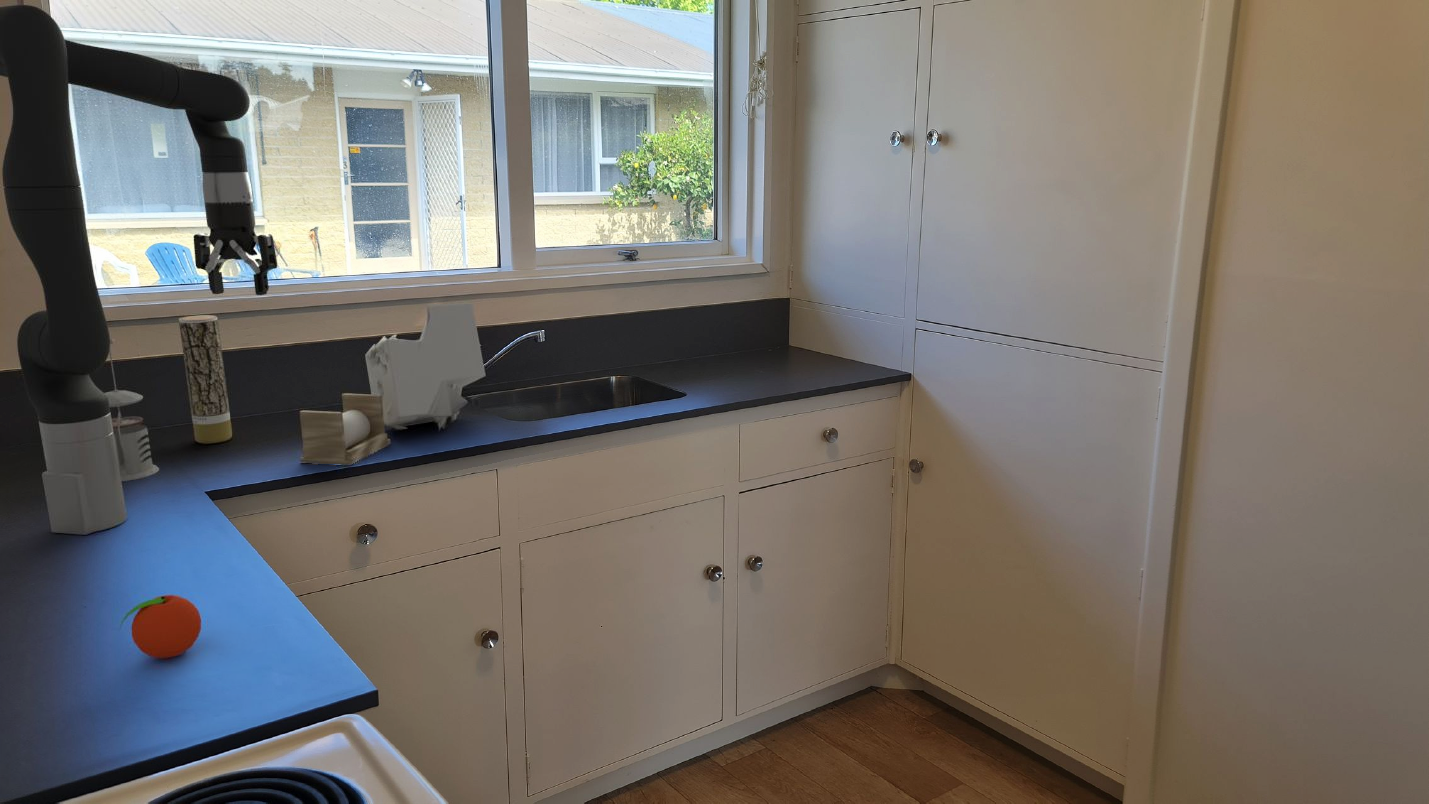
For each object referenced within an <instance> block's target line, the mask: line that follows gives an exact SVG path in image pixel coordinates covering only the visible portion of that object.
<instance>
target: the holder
mask: <svg viewBox="0 0 1429 804" xmlns="http://www.w3.org/2000/svg"><path fill="white" fill-rule="evenodd" d="M341 399H342V408H343V409H342V411H328V410H327V411H322V410H307V409H306V410H301V411H299V418H300V419H299V420H300V427H301V438H302V446H303V448H302V449H301V450H302V451H301V452H302V457H300V458H299V461H300V462H305V463H317V464H316V465H318V464H341V465H350V464H353V463H354V464H356V463H358V462H360V461H362V460H364V459H365V458H364V457H366V458H368V457H369V456H371V455H373V454H375V453H377V452H378V450H379V451H380V450H382V449H385V447H388V446H389V445H391V444H392V443H391V439H390V438H388V433H387V432H386V428H385V425H384V416H383V404H382V395H372V394H370V393H369V394H368V393H365V394H363V393H347V392H346V393H342V394H341ZM349 410H357V411H360V412H362V413H363V414H364V415H365V416H366V417H367V419H368V420H369V423H370V433H369V435H368V436H367V438H366V439H364V440H362V441H360V442H358V443H356V444H354V445H352V446H350V447H348V448H346V446H345V436H344V426H343V416H342V413H344V412H347V411H349ZM374 452H375V453H374ZM370 454H371V455H370ZM368 455H369V456H368ZM363 458H364V459H363ZM361 459H362V460H361ZM359 460H360V461H359ZM357 461H358V462H357ZM355 462H356V463H355ZM354 464H353V465H354Z"/></svg>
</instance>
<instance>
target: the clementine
mask: <svg viewBox="0 0 1429 804" xmlns="http://www.w3.org/2000/svg"><path fill="white" fill-rule="evenodd" d="M137 610H138V611H137ZM136 611H137V612H136ZM199 611H200V610H199V609H198V608H197V607H196V606H195V604H193V602H191V601H190V600H189V599H187V598H185V597H182V596H179V595H173V594H166V595H161V596H157V597H153V598H152V599H148V600H146V601H143V602H141V603H139V604H137V605H136V606H134V607H133V608H132V609H131V610H130V611H128V612H127V613H126V615H125V616H124V618H123V619H122V620H121V624H120V627H119V629H118V630H121V627H122V625H123V622H124V621H125V620H126V619H127V618H128V616H130V615H131V614H133V613H134V612H136V613H135V615H134V617H133V620H132V622H131V637H132V641H133V643H134V644H135V645H136V646H137V648H138V649H139V651H140V652H142V653H143V654H145V655H147V656H149V657H153V658H157V659H169V658H174V657H177V656H180V655H181V654H184V653H185V652H186V651H188V650H189V649H190V648H191V647H192V646H193V645H194V644H195V643H196V641H197V640H198V638H199V636H200V633H201V629H202V618H201V614H200V612H199Z"/></svg>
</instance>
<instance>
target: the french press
mask: <svg viewBox="0 0 1429 804" xmlns="http://www.w3.org/2000/svg"><path fill="white" fill-rule="evenodd" d="M115 343H116V342H115V339H114V338H113V337H111V336H110V345H113V344H115ZM109 359H110V365H111V372H112V378H113V385H114V390H112V391H108V392H103V393H104V394H105V395H106V396H107V398H108V401H109V406H110V408H115V407H117V409H118V411H117V412H118V414H117V417H111V419H112V425H113V432H114V439H115V445H116V451H117V458H118V464H119V470H120V477H121V482H128V481H132V480H139V479H143V478H147V477H150V476H152V475H155V474H157V472H159V471H160V468H159V467H158V466H157V465H156V464H153V459H152V457H151V456H152V452H151V450H150V449H151V446H150V444H149V442H150V438H149V437H148V436H149V431H148V427H147V425H145V424H142V423H143V422H144V418H143V417H141V416H136V415H135V416H122V413H121V409H120V407H124V406H128V405H132V404H135V403H139V402H140V401H142V400H143V399H144V396H143V395H141V394H139V393H137V392H133V391H129V390H125V389H124V390H119V389H117V384H116V377H115V370H114V365H113V357H112V352H111V349H110V350H109ZM142 437H144V439H142ZM144 444H146V445H144ZM145 451H146V452H145Z"/></svg>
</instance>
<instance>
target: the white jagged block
mask: <svg viewBox="0 0 1429 804" xmlns="http://www.w3.org/2000/svg"><path fill="white" fill-rule="evenodd" d="M426 311H427V312H426V313H427V314H426V316H427V317H426V320H425V322H424V325H423V329H422V331H421V335H420V337H419V339H416V340H411V339H402V338H400V339H399V338H396V337H397V335H398V334H393V335H392V336H391V337H389V338H388V337H386V336H385V335H384V336H383V337H382V338H381V339H380V340H379V341H378V342H377V343H376V344H373V345H372V346H371V347H370V348H369V349H368V351H367V352H366V354H364V355H365V356H364V357H365V363H366V368H367V375H368V381H369V387H370V393H371V394H372V395H382V404H383V416H384V426H387V427H389V428H390V427H391V428H394V429H395V430H396V431H398V430H400V431H402V430H406V429H408V427H406V425H412V424H413V425H414V424H423V423H428V422H434V423H435V424H436V423H437V428H438V431H440V430H441V429H442V430H443V429H444V430H445V429H446V428H447V427H448V426H449V425H451V423H453V422H454V421H455V420H456V419H457V416H458V415H459V414H460V410H461V409H462V408H464V407H465V406H467V404H468V403H469V401H468V400H467V399H465V397H463V396H462V392H463V391H462V390H463V388H464V387H466V386H467V385H469V384H472V383H474V382H476V381H478V380H480V379H482V378H484V377H487V376H486V375H487V374H486V370H485V365H484V360H483V354H482V349H481V344H480V343H481V342H480V338H479V333H478V328H477V327H478V326H477V323H476V318H475V313H474V308H473V302H471V301H469V302H462V303H461V302H458V303H446V304H433V305H427V306H426Z"/></svg>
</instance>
